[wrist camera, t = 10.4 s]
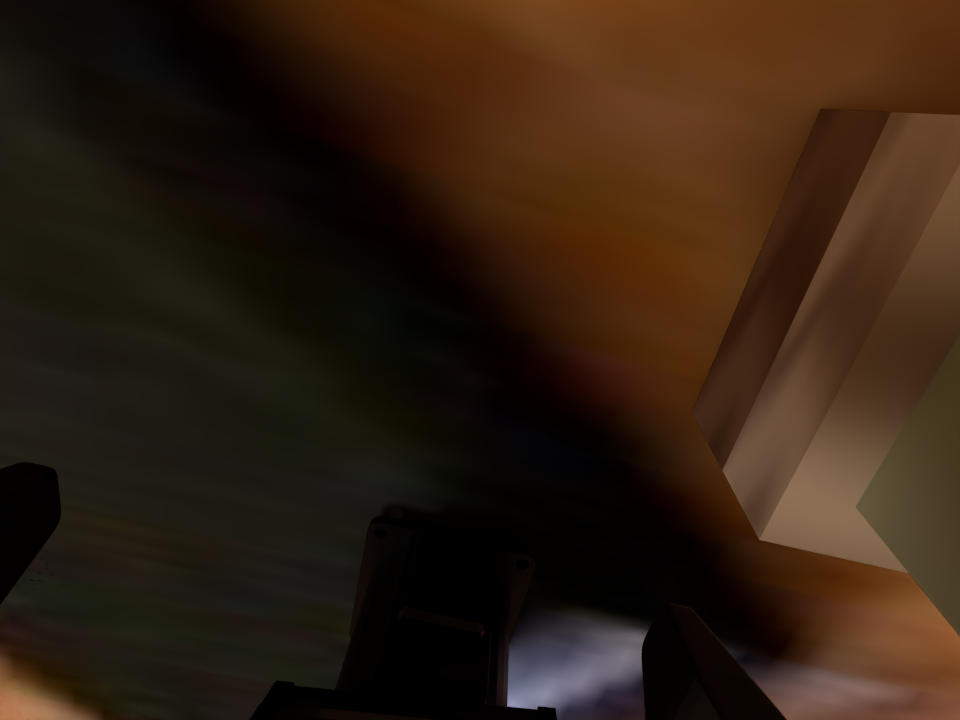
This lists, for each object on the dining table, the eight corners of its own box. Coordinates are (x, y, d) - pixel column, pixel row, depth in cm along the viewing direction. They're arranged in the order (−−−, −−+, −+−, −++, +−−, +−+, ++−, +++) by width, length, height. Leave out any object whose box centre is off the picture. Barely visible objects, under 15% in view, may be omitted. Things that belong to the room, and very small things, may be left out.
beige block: (910, 463, 21) (1063, 607, 15) (691, 412, 21) (758, 540, 15) (1091, 175, 17) (1400, 218, 11) (820, 108, 17) (985, 116, 11)
